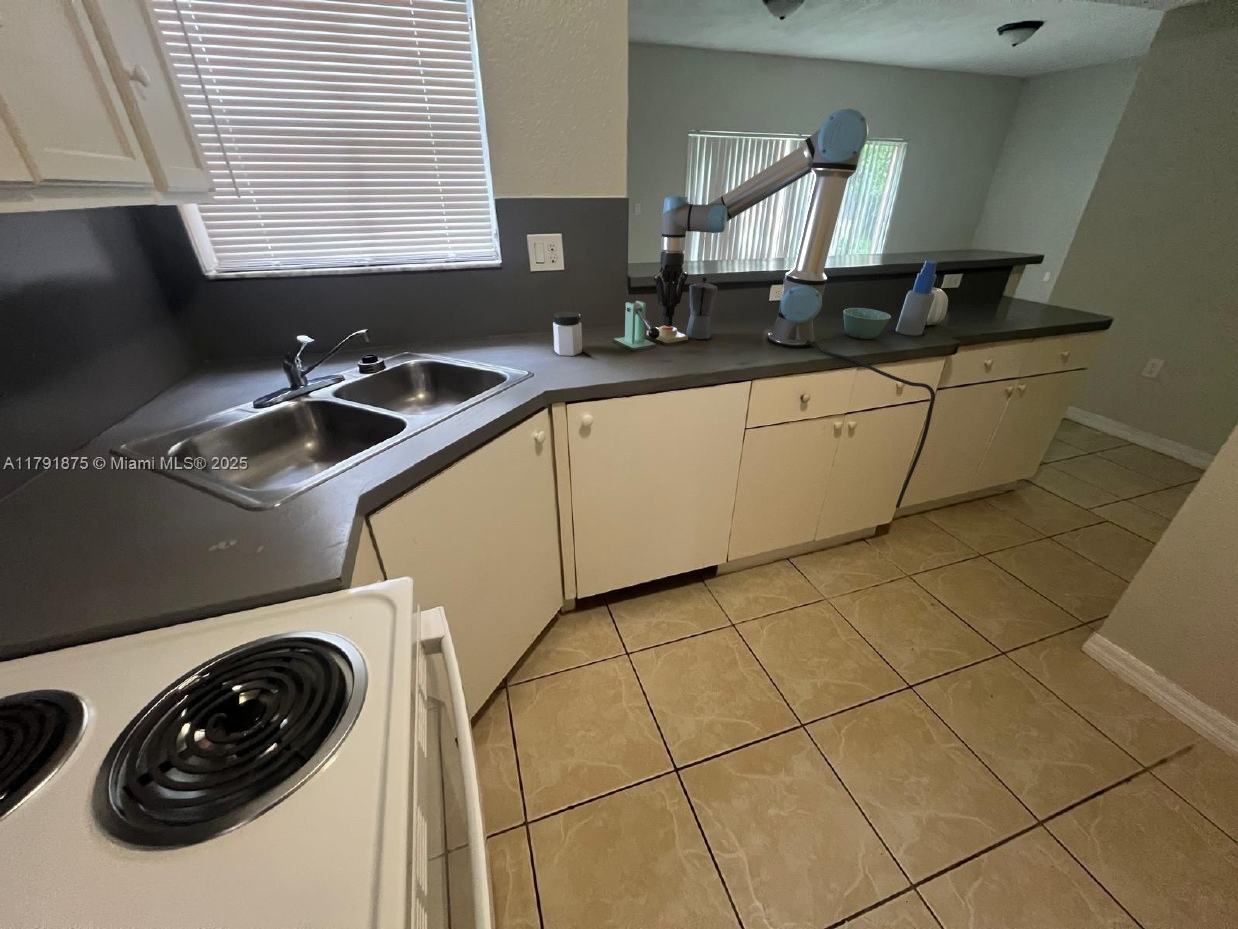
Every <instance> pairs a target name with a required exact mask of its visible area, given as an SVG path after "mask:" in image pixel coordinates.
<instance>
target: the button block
mask: <svg viewBox="0 0 1238 929" xmlns="http://www.w3.org/2000/svg"><path fill="white" fill-rule="evenodd" d="M657 328H658V329H659V331H660V335H659V337H658V338H656V339H655V340H658V341H660V342H663V343H665V344H671V343H677V342H683V341H688V340H689V337H688V336H687V335H686V333H682V332H680V331H678V328H677V327H675V326H673V330H663V329H662V326H659V327H657ZM648 332H649V330H646V336H649V335H648Z"/></svg>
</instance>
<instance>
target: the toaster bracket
mask: <svg viewBox="0 0 1238 929" xmlns="http://www.w3.org/2000/svg"><path fill="white" fill-rule="evenodd" d="M632 303H633V302H629V301H627V302H626V301H625V317H624V336H622V337H615V338H614V340H615V341H617V342H618V343H621V344H623V345H625V346H627V347H629V348H632V349H638V348H643V347H648V346H654V345H656V343H655V342H653V341H649V340H648V339H645V336H646V335H645V333H646V332H645V331H646V326H645V324H644V323H643V322H642V320H641V319H640V317H639V316H638V315H637V314H635V309H636V305H635V304H632ZM635 303H638V304H639V305H640V307H641V313H642V314H643V315H644V317H645V318H646V312H647V311H646V310H647V303H646V302H644V301H641V300H635Z"/></svg>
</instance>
